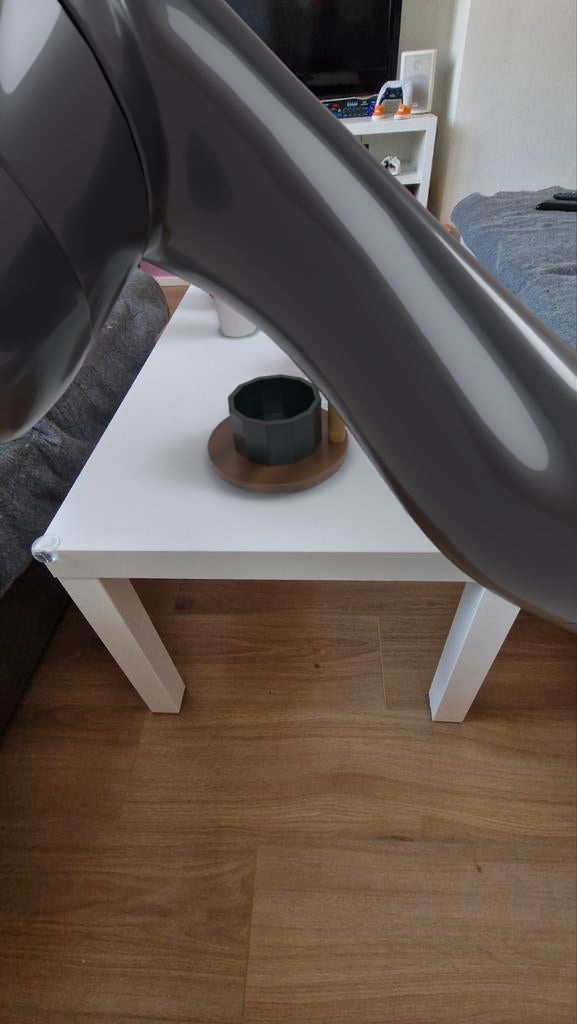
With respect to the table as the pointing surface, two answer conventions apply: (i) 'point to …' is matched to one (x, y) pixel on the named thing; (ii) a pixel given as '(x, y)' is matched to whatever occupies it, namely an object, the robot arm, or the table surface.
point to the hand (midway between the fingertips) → (386, 318)
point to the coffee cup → (232, 321)
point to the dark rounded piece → (277, 437)
